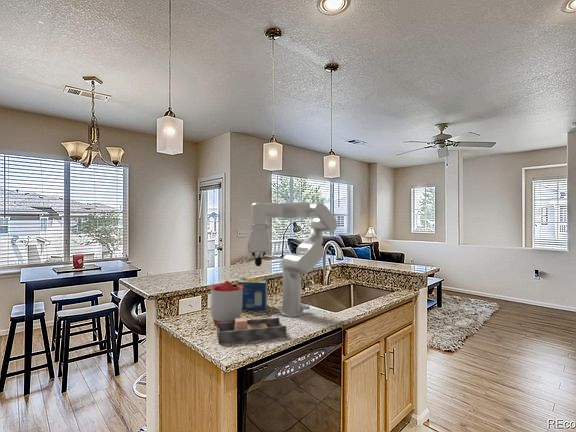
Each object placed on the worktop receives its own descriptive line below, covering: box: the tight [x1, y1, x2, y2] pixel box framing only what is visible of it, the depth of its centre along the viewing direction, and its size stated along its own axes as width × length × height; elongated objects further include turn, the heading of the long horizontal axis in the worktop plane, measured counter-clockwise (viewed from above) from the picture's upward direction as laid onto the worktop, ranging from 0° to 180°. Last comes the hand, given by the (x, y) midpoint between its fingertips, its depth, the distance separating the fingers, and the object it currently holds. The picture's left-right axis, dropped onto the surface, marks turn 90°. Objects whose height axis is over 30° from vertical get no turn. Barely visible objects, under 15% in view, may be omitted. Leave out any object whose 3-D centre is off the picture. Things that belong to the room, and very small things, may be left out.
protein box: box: [237, 277, 268, 312], centre depth 173 cm, size 10×15×16 cm
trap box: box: [216, 317, 287, 345], centre depth 133 cm, size 28×12×4 cm, turn 107°
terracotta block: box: [235, 317, 248, 330], centre depth 132 cm, size 4×4×4 cm
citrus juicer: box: [210, 280, 243, 325], centre depth 150 cm, size 16×17×20 cm
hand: (258, 265), depth 150 cm, fingers closed
